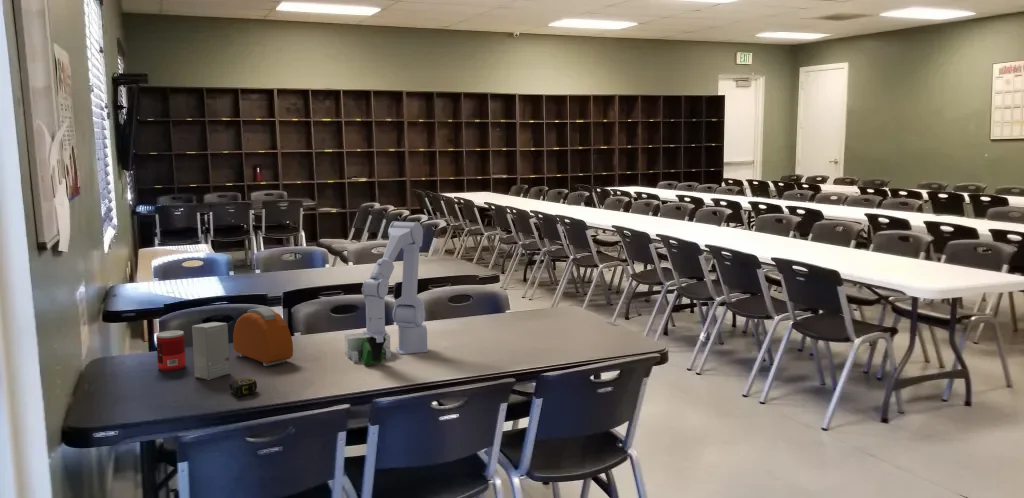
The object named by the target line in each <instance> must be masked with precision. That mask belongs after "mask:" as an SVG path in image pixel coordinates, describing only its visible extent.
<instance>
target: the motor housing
mask: <svg viewBox="0 0 1024 498" xmlns="http://www.w3.org/2000/svg"><path fill="white" fill-rule="evenodd" d="M384 336H385V338H386V341H385V343H384V345H383V348H382V350H384V351H385V353H384V356H383V358H384V359H385V360H386V361H389V360H392V350H391V335H390V333H389V332H387V330H386V333H385V335H384ZM366 337H371V336H369V335H364V334H363V332H359V333H357V332H356V333H347V334H344V354H345V356H346V358H347V359H351V360H352V363H353V364H355V363H359V358H361V353H362V348H363V344H364V342H367V343H368V341H367V339H366Z"/></svg>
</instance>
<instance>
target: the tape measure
mask: <svg viewBox="0 0 1024 498" xmlns="http://www.w3.org/2000/svg"><path fill="white" fill-rule="evenodd" d="M228 389H229V391H231V393H233V394H234V395H235V396H237V397H240V396H245V395H246V396H247V395H250V394H253V393H256V391H257V389H258V384H257V381H256V379H255V378H251V377H245V378H244V377H243V378H239V379H236V380H232V381H231V382H229V383H228Z"/></svg>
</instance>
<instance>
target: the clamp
mask: <svg viewBox="0 0 1024 498" xmlns="http://www.w3.org/2000/svg"><path fill="white" fill-rule="evenodd" d="M384 353H385V351H384V350H382V353H381V358H380V360H373V358H372V355H371V350H370V346H369V343H367V342H364V344H363V348H362V353H361V357H360V360H361V361H362V362H361V363H363V366H368V367H371V365H372V363H376V364H382V362H383V358H384Z"/></svg>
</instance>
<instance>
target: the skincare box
mask: <svg viewBox="0 0 1024 498" xmlns="http://www.w3.org/2000/svg"><path fill="white" fill-rule="evenodd" d="M228 327H229V326H228V323H227V322H217V321H211V322H205V323H200V324H195V325H192V326H191V333H192V334H191V335H192V348H193V349H192V351H193V352H192V353H193V369H194V377H195V378H198V379H202V380H203V379H204V380H208V381H210V379H211V380H213V379H217V378H221V377H222V376H226V375H229V374H230V373H231V370H230V369H231V367H230V351H229V350H230V349H229V348H230V347H229V332H228V329H229V328H228Z"/></svg>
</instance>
